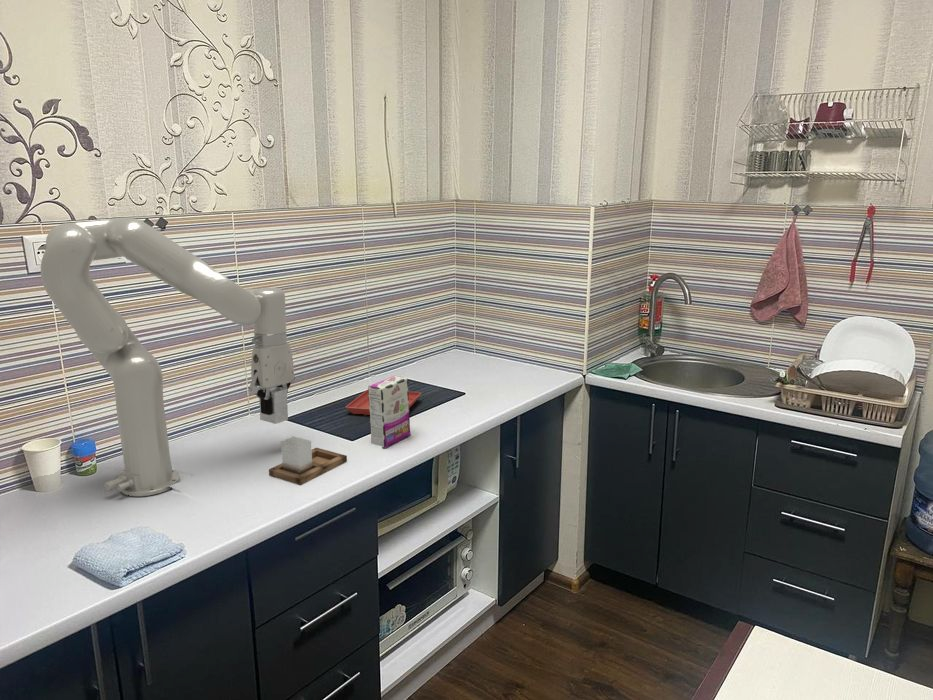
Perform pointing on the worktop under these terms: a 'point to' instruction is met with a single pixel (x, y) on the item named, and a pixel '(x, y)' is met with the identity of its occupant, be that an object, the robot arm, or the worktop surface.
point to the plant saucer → (362, 403)
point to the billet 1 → (276, 406)
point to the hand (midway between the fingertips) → (273, 410)
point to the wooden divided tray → (321, 465)
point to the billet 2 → (296, 455)
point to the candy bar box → (389, 411)
